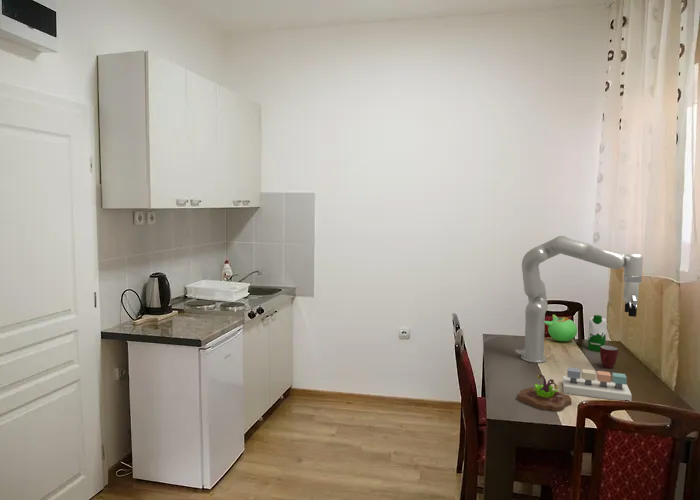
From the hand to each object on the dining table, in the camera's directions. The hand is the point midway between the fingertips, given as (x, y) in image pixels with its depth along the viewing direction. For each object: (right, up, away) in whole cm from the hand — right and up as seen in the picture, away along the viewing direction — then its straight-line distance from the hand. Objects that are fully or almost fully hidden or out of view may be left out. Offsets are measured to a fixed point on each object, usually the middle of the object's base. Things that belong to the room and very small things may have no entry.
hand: (630, 314), depth 240 cm
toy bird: (-8, -24, +60) cm, 65 cm away
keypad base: (-27, -31, -21) cm, 47 cm away
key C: (-25, -29, -23) cm, 44 cm away
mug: (-5, -29, +11) cm, 31 cm away
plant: (-54, -33, -31) cm, 71 cm away
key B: (-30, -28, -20) cm, 46 cm away
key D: (-19, -29, -25) cm, 42 cm away
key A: (-36, -28, -18) cm, 49 cm away
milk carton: (+4, -26, +41) cm, 49 cm away
